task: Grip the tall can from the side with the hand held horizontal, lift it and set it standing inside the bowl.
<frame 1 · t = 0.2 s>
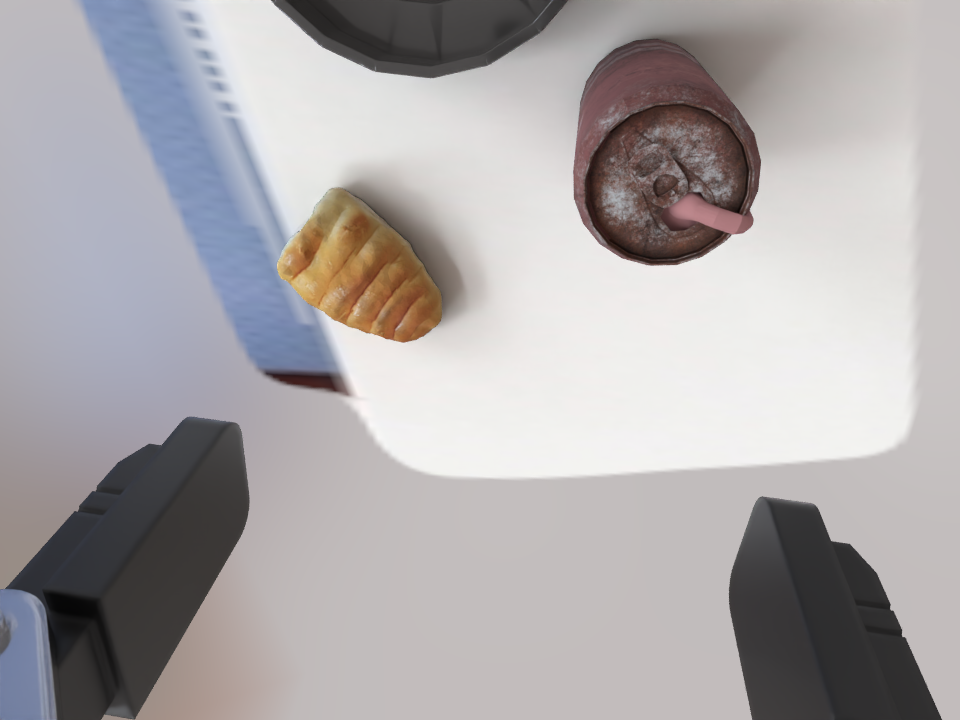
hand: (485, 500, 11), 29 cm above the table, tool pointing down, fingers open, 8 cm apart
pastry: (366, 257, 42), on the table
can: (646, 105, 36), on the table
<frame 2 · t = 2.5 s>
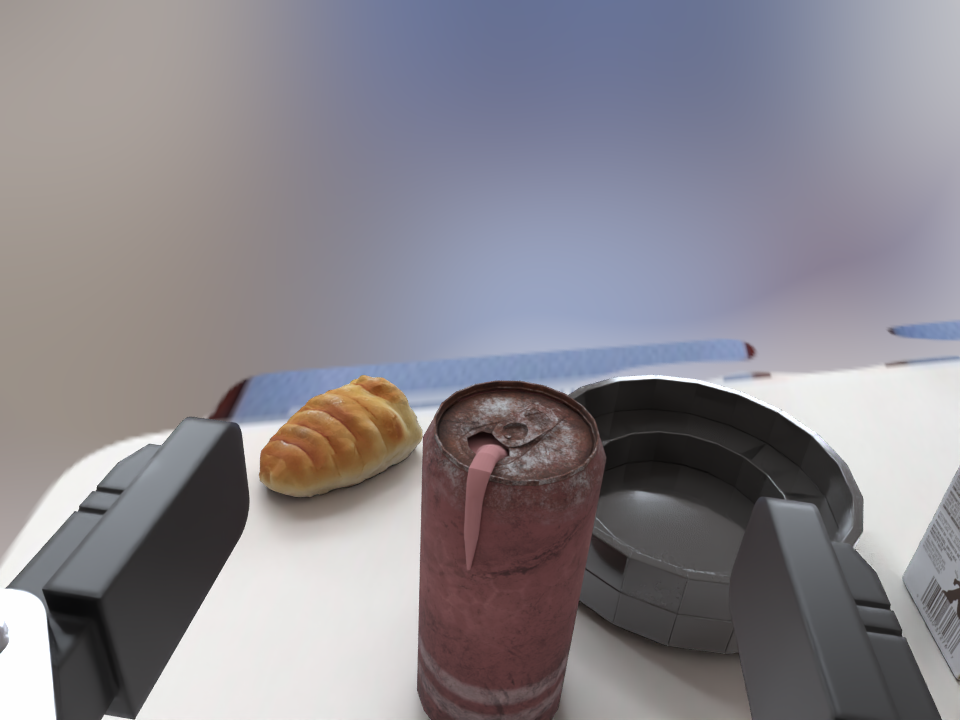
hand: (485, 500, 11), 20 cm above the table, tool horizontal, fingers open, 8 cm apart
pastry: (347, 457, 44), on the table
can: (487, 693, 31), on the table
bowl: (674, 532, 40), on the table
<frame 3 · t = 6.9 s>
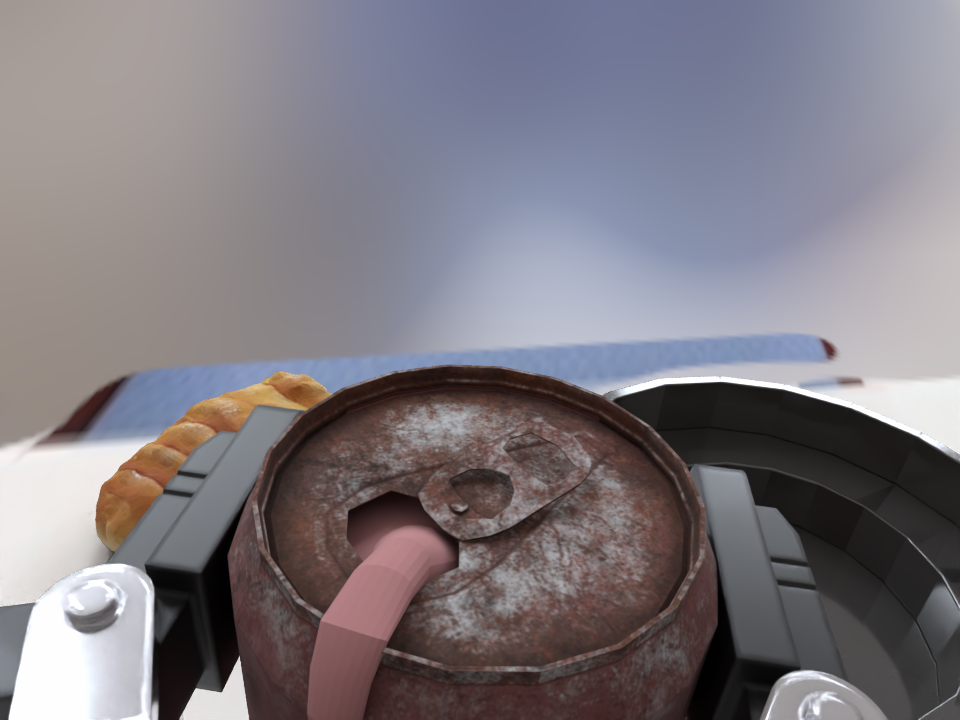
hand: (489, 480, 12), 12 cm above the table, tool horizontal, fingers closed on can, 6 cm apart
pastry: (249, 495, 29), on the table
bowl: (757, 628, 25), on the table
when the fingers open (13 cm above the table, at t = 15.9 s): can stays where it is, resting on bowl.
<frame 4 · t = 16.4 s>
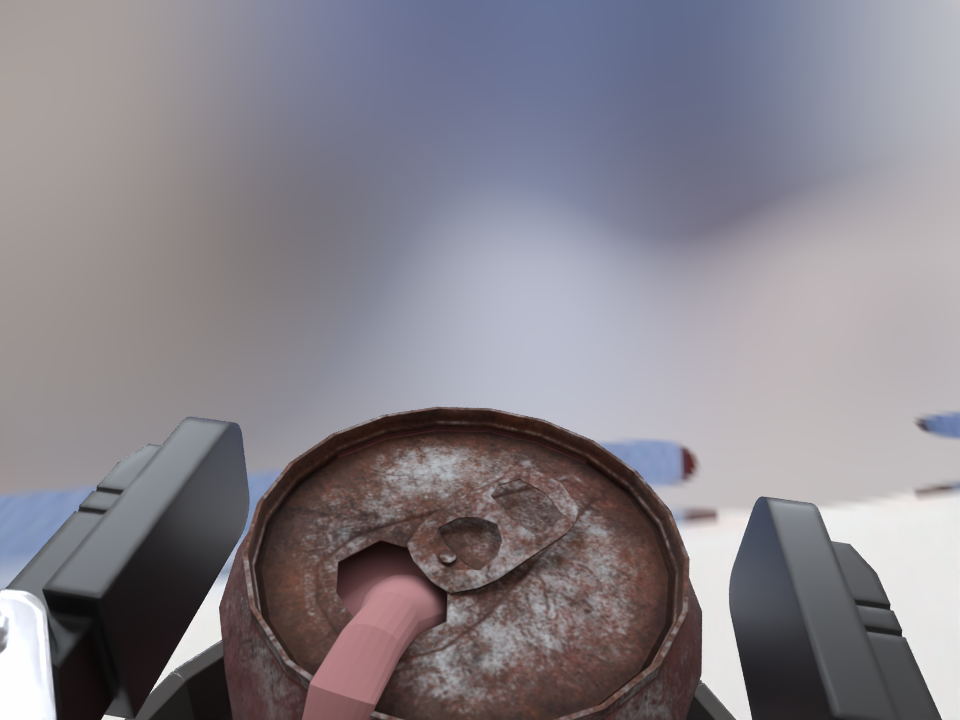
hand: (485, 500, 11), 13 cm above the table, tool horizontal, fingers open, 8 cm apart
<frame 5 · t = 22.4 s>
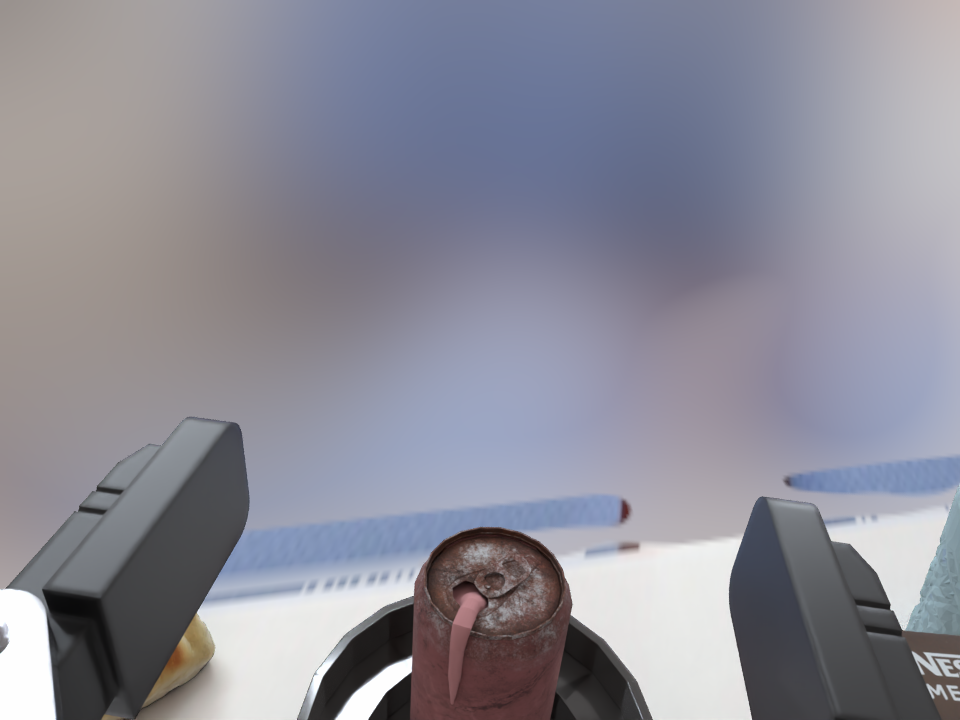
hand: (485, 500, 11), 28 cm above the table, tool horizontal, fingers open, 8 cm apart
pastry: (129, 674, 39), on the table
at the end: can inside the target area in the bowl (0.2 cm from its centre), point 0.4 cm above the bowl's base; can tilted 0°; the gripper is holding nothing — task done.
